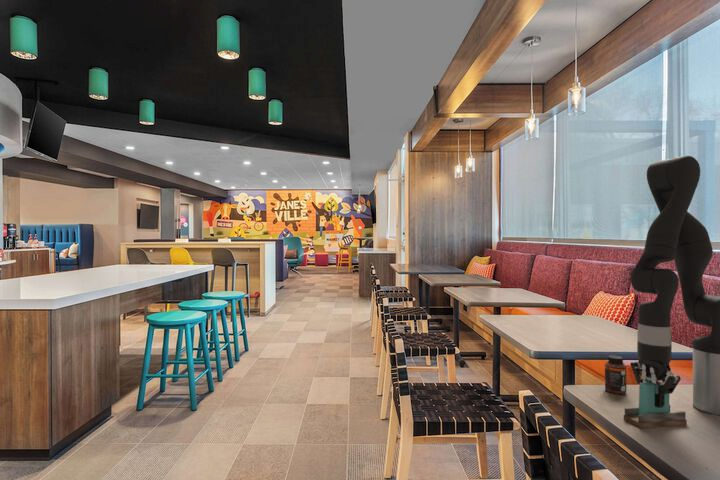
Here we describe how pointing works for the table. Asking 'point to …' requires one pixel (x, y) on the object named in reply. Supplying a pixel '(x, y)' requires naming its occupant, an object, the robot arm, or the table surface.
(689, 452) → the table surface
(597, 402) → the table surface
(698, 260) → the robot arm
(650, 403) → the teal rectangular block
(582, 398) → the table surface
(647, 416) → the floor track
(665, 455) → the table surface
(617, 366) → the supplement bottle
